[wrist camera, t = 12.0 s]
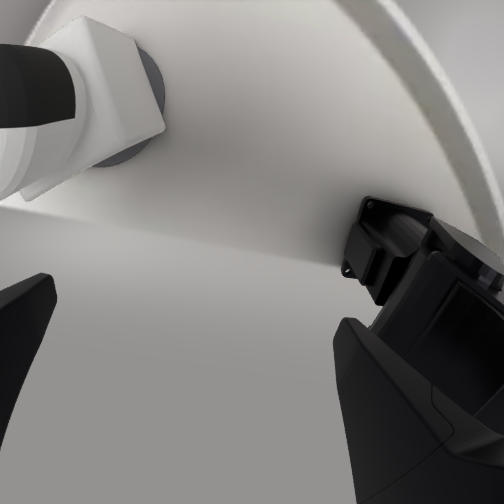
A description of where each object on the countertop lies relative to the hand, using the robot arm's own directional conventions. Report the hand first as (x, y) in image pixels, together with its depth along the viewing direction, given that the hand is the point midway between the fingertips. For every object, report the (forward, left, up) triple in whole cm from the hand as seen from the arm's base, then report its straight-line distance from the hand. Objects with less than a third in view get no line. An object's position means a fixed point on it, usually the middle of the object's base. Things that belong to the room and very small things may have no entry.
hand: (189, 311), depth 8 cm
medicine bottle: (+9, -5, -13) cm, 16 cm away
